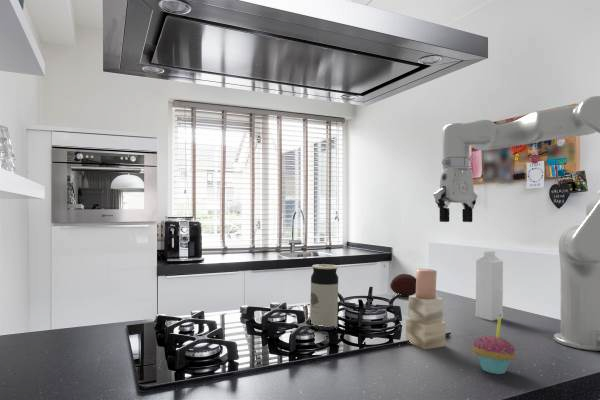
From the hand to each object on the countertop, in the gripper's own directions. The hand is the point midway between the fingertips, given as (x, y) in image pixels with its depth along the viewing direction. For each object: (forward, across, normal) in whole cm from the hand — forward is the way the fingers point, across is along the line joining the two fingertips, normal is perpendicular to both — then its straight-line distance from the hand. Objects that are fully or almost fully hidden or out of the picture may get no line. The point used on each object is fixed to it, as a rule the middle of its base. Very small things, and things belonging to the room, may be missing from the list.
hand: (456, 221), depth 121 cm
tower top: (+26, -19, -6) cm, 33 cm away
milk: (+32, +22, +6) cm, 39 cm away
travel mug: (+32, -36, +16) cm, 51 cm away
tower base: (+32, -19, -6) cm, 37 cm away
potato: (+32, +19, +44) cm, 57 cm away
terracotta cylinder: (+20, -19, -6) cm, 28 cm away
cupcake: (+32, -18, -26) cm, 45 cm away
